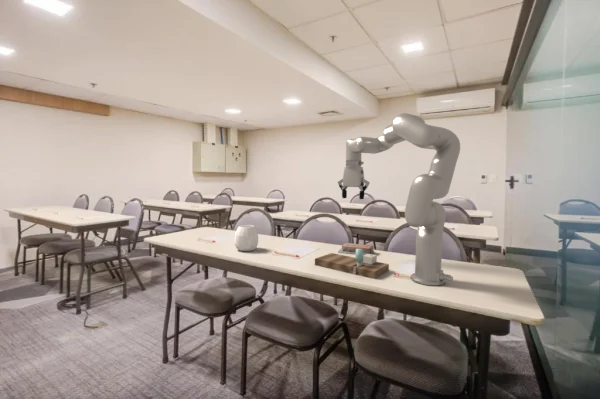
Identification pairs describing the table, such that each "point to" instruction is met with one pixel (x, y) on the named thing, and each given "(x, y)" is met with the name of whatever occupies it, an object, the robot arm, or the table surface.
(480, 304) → the table surface
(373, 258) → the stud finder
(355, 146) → the robot arm
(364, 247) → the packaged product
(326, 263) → the subfloor panel
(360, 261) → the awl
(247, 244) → the white faceted vase
